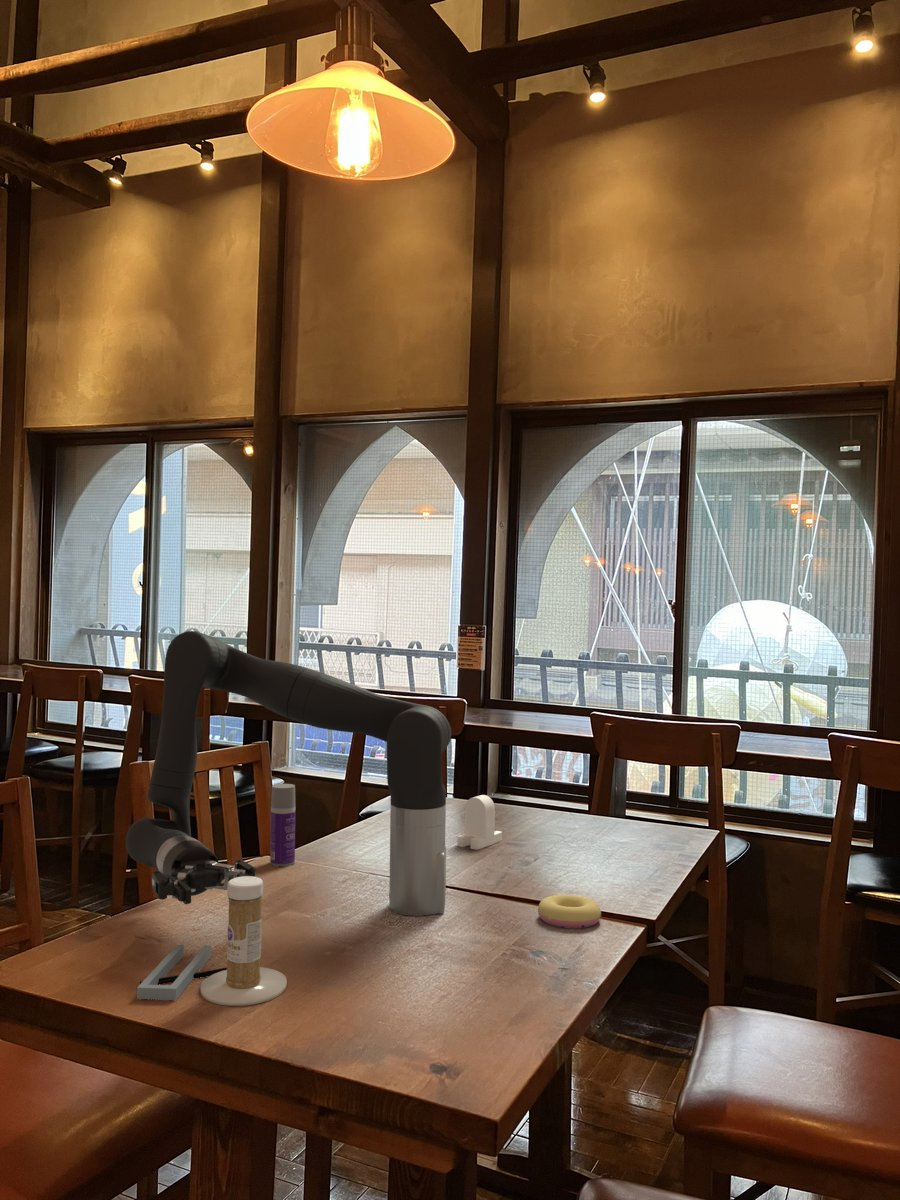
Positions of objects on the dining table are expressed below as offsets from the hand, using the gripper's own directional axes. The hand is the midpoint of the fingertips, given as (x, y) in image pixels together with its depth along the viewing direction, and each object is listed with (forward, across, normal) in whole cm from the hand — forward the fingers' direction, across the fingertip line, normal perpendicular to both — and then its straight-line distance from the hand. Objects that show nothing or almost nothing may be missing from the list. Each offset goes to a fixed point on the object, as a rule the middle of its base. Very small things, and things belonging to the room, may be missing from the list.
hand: (219, 892), depth 131 cm
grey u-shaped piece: (+2, -6, +10) cm, 12 cm away
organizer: (-36, +68, +10) cm, 78 cm away
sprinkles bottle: (+11, 0, +9) cm, 14 cm away
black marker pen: (+4, -6, +10) cm, 12 cm away
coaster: (+11, 0, +10) cm, 14 cm away
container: (-42, +26, +10) cm, 50 cm away
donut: (+11, +54, +10) cm, 56 cm away
